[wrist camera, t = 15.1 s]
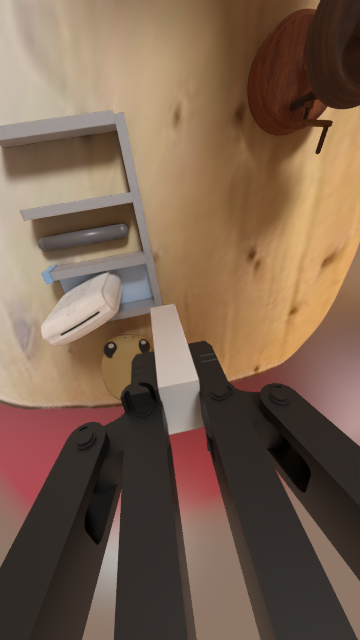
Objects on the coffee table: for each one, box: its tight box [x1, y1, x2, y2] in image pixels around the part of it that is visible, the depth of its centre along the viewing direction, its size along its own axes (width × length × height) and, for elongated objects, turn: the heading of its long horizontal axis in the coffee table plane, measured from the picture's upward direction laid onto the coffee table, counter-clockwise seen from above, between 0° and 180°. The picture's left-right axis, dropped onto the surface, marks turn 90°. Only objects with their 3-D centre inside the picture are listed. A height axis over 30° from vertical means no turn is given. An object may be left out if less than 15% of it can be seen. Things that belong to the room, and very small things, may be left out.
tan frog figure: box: [101, 335, 153, 400], centre depth 41 cm, size 10×12×11 cm
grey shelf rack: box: [0, 110, 163, 322], centre depth 34 cm, size 26×16×4 cm, turn 8°
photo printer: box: [41, 270, 123, 346], centre depth 34 cm, size 10×4×12 cm, turn 118°
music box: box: [248, 0, 360, 154], centre depth 23 cm, size 15×11×20 cm
